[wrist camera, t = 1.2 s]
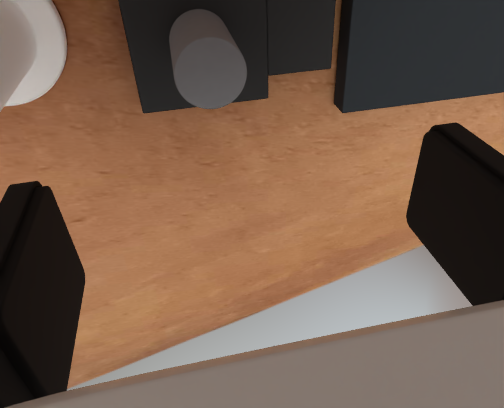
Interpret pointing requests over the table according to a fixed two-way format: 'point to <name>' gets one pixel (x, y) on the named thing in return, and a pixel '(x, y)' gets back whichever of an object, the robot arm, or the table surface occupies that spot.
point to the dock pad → (418, 52)
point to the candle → (29, 50)
